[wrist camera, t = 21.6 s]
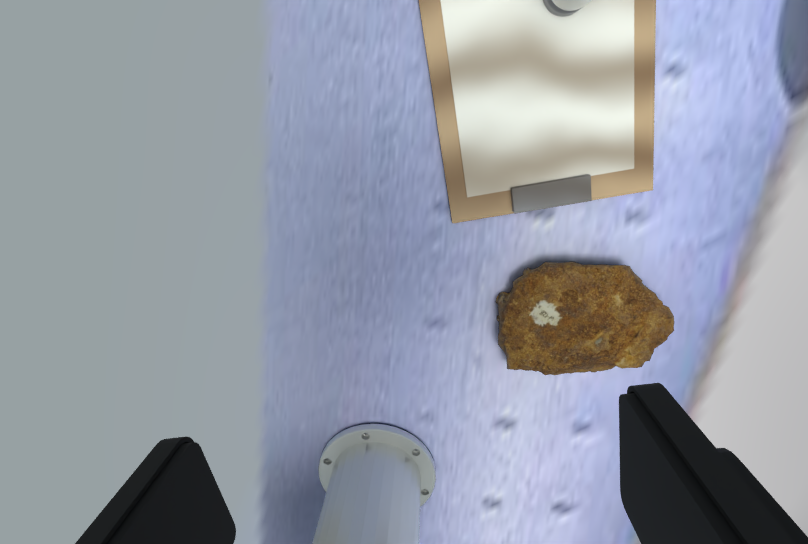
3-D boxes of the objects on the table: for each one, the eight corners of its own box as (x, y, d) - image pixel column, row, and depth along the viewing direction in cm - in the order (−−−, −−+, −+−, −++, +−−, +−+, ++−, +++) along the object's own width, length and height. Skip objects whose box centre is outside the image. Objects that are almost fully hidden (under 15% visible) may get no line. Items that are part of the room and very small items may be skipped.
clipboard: (649, 188, 34) (658, 192, 33) (452, 221, 36) (452, 226, 35) (652, -117, 27) (664, -130, 26) (409, -57, 29) (409, -65, 28)
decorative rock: (670, 246, 36) (493, 255, 38) (697, 259, 33) (498, 269, 34) (657, 364, 40) (495, 367, 42) (680, 388, 36) (500, 391, 38)
